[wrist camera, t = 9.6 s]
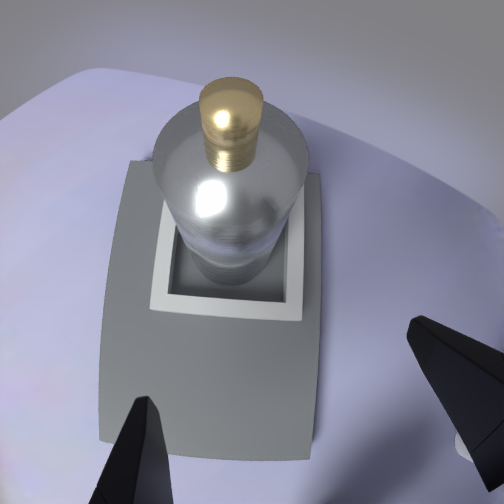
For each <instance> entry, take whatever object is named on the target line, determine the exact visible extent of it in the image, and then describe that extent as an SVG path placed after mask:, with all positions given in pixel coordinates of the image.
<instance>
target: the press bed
mask: <svg viewBox="0 0 504 504" xmlns="http://www.w3.org/2000/svg"><path fill="white" fill-rule="evenodd" d="M320 312H321V193H320V174H314V173H307V176H306V179H305V181H304V184H303V186H302V188H301V190H300V192H299V195H298V197H297V199H296V201H295V203H294V205H293V208H292V210H291V212H290V214H289V216H288V218H287V220H286V223H285V225H284V227H283V229H282V231H281V233H280V235H279V238H278V240H277V242H276V244H275V246H274V248H273V250H272V252H271V255H270V257H269V259H268V261H267V263H266V265H265V267H264V268H263V270H262V271H261V272H260V274H259V275H258V276H257V277H255V278H254V279H253V280H251V281H249V282H247V283H245V284H242V285H238V286H224V285H219V284H216V283H214V282H212V281H210V280H209V279H207V278H206V277H205V276H203V275H202V274H201V272H200V271H199V270H198V268H197V267H196V265H195V263H194V261H193V259H192V257H191V255H190V253H189V251H188V249H187V246H186V244H185V242H184V240H183V238H182V236H181V234H180V232H179V230H178V228H177V226H176V223H175V221H174V219H173V217H172V215H171V213H170V211H169V208H168V206H167V204H166V202H165V200H164V197H163V195H162V193H161V191H160V189H159V186H158V184H157V182H156V180H155V176H154V172H153V165H152V161H130V164H129V168H128V172H127V176H126V180H125V184H124V188H123V193H122V197H121V202H120V206H119V211H118V216H117V221H116V226H115V232H114V237H113V243H112V249H111V255H110V261H109V268H108V275H107V283H106V290H105V299H104V308H103V318H102V330H101V344H100V362H99V439H100V441H104V442H108V443H112V444H115V442H116V440H117V437H118V435H119V433H120V431H121V428H122V426H123V424H124V422H125V420H126V418H127V415H128V413H129V411H130V409H131V407H132V405H133V402H134V400H135V399H136V398H137V397H141V396H149V397H150V398H151V400H152V401H153V403H154V404H155V406H156V407H157V409H158V411H159V414H160V419H161V424H162V429H163V434H164V439H165V444H166V449H167V454H171V455H179V456H187V457H197V458H208V459H221V460H242V461H288V460H308V459H310V453H311V444H312V435H313V424H314V414H315V402H316V389H317V375H318V358H319V338H320Z"/></svg>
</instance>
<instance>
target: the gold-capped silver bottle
mask: <svg viewBox="0 0 504 504" xmlns="http://www.w3.org/2000/svg"><path fill="white" fill-rule="evenodd" d="M152 165H153V172H154V176H155V180H156V182H157V184H158V186H159V189H160V191H161V193H162V195H163V197H164V200H165V202H166V204H167V206H168V208H169V211H170V213H171V215H172V217H173V219H174V221H175V223H176V226H177V228H178V230H179V232H180V234H181V236H182V238H183V240H184V242H185V244H186V246H187V249H188V251H189V253H190V255H191V257H192V259H193V261H194V263H195V265H196V267H197V268H198V270H199V271H200V272H201V274H202V275H203V276H205V277H206V278H207V279H209V280H210V281H212V282H214V283H216V284H219V285H224V286H238V285H242V284H245V283H247V282H249V281H251V280H253V279H254V278H255V277H257V276H258V275H259V274H260V272H261V271H262V270H263V268H264V267H265V265H266V263H267V261H268V259H269V257H270V255H271V252H272V250H273V248H274V246H275V244H276V242H277V240H278V238H279V235H280V233H281V231H282V229H283V227H284V225H285V223H286V220H287V218H288V216H289V214H290V212H291V210H292V208H293V205H294V203H295V201H296V199H297V197H298V195H299V192H300V190H301V188H302V186H303V184H304V181H305V179H306V176H307V172H308V166H309V154H308V148H307V144H306V141H305V139H304V136H303V134H302V133H301V131H300V129H299V128H298V126H297V125H296V124H295V122H294V121H293V120H292V119H291V118H290V117H289V116H288V115H286V114H285V113H284V112H283V111H281V110H280V109H278V108H277V107H275V106H273V105H271V104H269V103H267V102H265V101H263V94H262V92H261V90H260V89H259V87H258V86H257V85H255V84H254V83H252V82H251V81H249V80H246V79H243V78H238V77H225V78H220V79H217V80H215V81H212V82H211V83H209V84H208V85H206V86H205V87H204V88H203V90H202V91H201V93H200V96H199V101H198V102H195V103H193V104H191V105H189V106H187V107H186V108H184V109H182V110H181V111H179V112H178V113H177V114H176V115H175V116H173V117H172V118H171V119H170V120H169V121H168V123H167V124H166V125H165V126H164V128H163V129H162V130H161V132H160V134H159V136H158V138H157V140H156V143H155V146H154V151H153V159H152Z"/></svg>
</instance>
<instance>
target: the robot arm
mask: <svg viewBox="0 0 504 504" xmlns="http://www.w3.org/2000/svg"><path fill="white" fill-rule="evenodd" d="M407 340H408V343H409V345H410V347H411V349H412V351H413V353H414V355H415V357H416V359H417V361H418V363H419V365H420V367H421V369H422V371H423V373H424V375H425V377H426V378H427V380H428V382H429V383H430V385H431V387H432V388H433V390H434V392H435V393H436V395H437V397H438V398H439V400H440V402H441V403H442V405H443V407H444V409H445V410H446V412H447V414H448V416H449V417H450V419H451V421H452V423H453V424H454V426H455V428H456V430H457V432H458V433H459V435H460V437H461V439H462V441H463V443H464V445H465V446H466V448H467V450H468V452H469V454H470V456H471V458H472V460H473V462H474V464H475V466H476V468H477V470H478V472H479V474H480V476H481V478H482V480H483V482H484V484H485V486H486V488H487V490H488V492H491V491H493V490H494V489H496V488H497V487H499V486H501V485H502V484H504V353H502V352H500V351H498V350H496V349H494V348H492V347H489V346H487V345H485V344H483V343H481V342H479V341H477V340H474V339H472V338H470V337H468V336H466V335H464V334H462V333H459V332H457V331H455V330H453V329H451V328H449V327H446V326H444V325H442V324H440V323H438V322H436V321H433V320H431V319H429V318H427V317H425V316H422V315H420V316H417V317H415V318H412V319H411V321H410V324H409V328H408V331H407ZM89 504H173V496H172V488H171V480H170V470H169V461H168V454H167V449H166V444H165V439H164V434H163V429H162V424H161V419H160V414H159V411H158V409H157V407H156V406H155V404H154V403H153V401H152V400H151V398H150V397H149V396H141V397H137V398H136V399H135V400H134V402H133V405H132V407H131V409H130V411H129V413H128V415H127V418H126V420H125V422H124V424H123V426H122V428H121V431H120V433H119V435H118V437H117V440H116V442H115V444H114V446H113V448H112V451H111V453H110V455H109V458H108V460H107V462H106V464H105V467H104V469H103V471H102V474H101V476H100V478H99V481H98V483H97V487H96V488H95V490H94V492H93V495H92V497H91V499H90V501H89Z"/></svg>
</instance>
